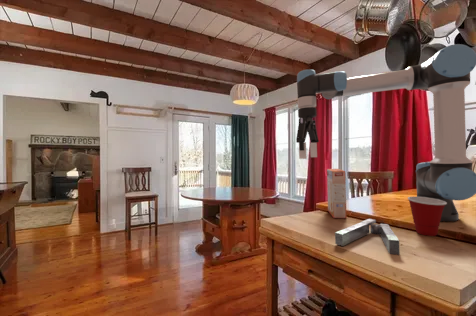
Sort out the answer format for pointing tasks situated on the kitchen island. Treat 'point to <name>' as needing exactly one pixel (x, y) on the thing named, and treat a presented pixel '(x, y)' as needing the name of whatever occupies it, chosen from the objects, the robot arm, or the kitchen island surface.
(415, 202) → the plastic cup
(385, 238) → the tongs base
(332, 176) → the cracker box
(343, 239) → the bar
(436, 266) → the kitchen island surface
